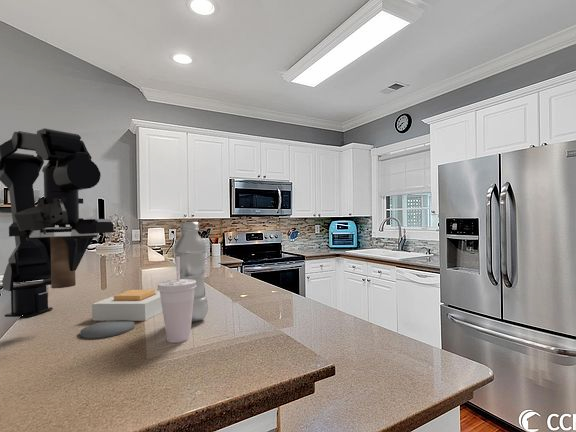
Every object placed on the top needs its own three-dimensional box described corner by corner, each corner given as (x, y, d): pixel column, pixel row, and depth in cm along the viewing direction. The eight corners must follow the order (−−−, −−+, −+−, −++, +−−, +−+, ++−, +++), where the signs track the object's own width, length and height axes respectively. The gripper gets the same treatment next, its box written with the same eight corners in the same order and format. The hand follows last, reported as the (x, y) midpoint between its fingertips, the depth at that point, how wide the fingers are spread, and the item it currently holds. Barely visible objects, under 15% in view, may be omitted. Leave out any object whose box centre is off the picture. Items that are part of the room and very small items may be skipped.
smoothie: (203, 332, 59) (201, 254, 59) (189, 345, 53) (186, 258, 53) (169, 332, 60) (167, 255, 60) (151, 345, 53) (149, 259, 54)
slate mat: (68, 338, 58) (68, 335, 58) (102, 322, 67) (102, 319, 67) (114, 338, 57) (114, 335, 57) (143, 322, 66) (143, 319, 66)
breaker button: (113, 300, 72) (113, 295, 72) (130, 294, 78) (130, 289, 78) (140, 300, 71) (140, 295, 71) (155, 293, 77) (155, 289, 77)
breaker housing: (92, 320, 69) (92, 303, 69) (127, 305, 81) (126, 291, 81) (145, 320, 68) (145, 303, 68) (173, 305, 80) (172, 291, 80)
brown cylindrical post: (46, 288, 64) (45, 237, 64) (62, 284, 68) (61, 236, 68) (64, 288, 63) (63, 236, 64) (80, 284, 67) (79, 235, 68)
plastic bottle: (167, 324, 64) (164, 223, 65) (189, 315, 71) (187, 222, 71) (194, 327, 62) (191, 222, 62) (215, 317, 68) (212, 221, 69)
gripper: (-22, 192, 59) (-20, 278, 59) (72, 186, 57) (74, 277, 57) (33, 196, 70) (35, 269, 70) (114, 192, 68) (116, 268, 68)
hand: (63, 271), depth 66 cm, fingers closed on brown cylindrical post, 4 cm apart
